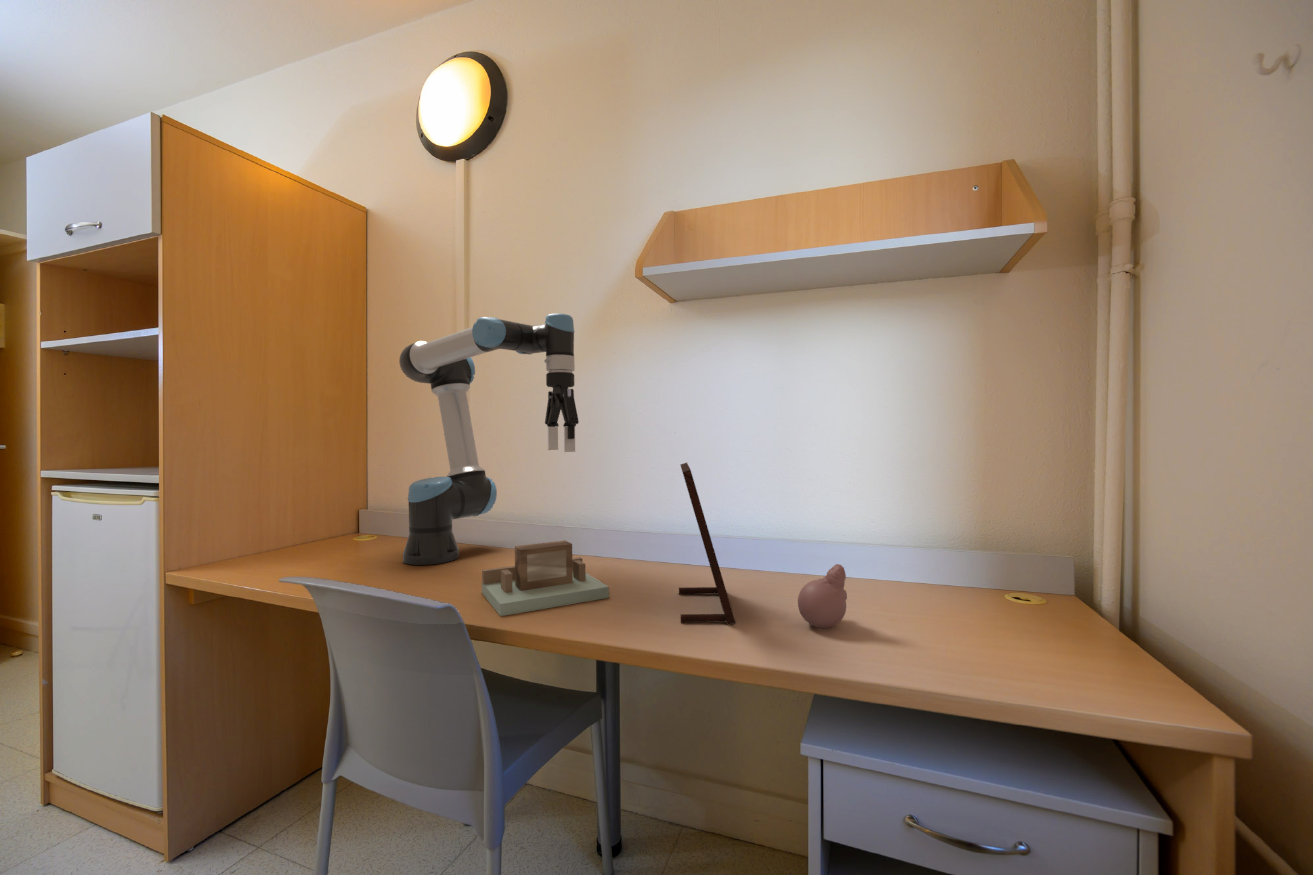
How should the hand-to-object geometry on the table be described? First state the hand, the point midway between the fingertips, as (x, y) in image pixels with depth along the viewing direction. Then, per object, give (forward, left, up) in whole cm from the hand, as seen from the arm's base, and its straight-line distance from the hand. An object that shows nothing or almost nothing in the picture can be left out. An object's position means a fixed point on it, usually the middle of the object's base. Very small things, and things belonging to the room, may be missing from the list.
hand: (561, 450), depth 151 cm
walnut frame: (+22, -12, -29) cm, 38 cm away
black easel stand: (+47, +15, -32) cm, 59 cm away
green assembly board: (+22, -12, -32) cm, 40 cm away
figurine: (+67, +29, -32) cm, 80 cm away
